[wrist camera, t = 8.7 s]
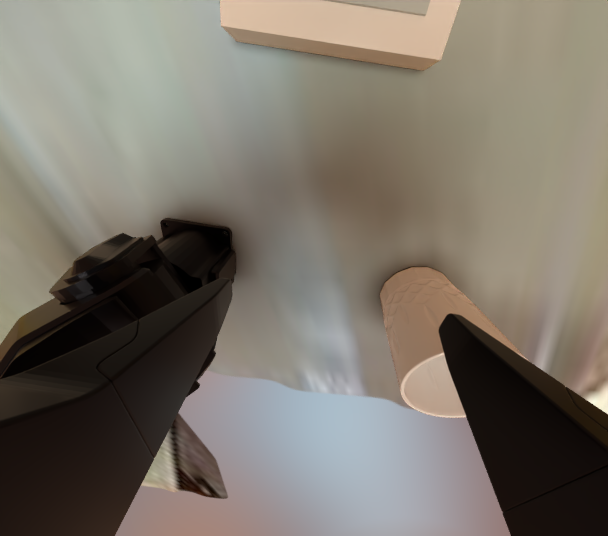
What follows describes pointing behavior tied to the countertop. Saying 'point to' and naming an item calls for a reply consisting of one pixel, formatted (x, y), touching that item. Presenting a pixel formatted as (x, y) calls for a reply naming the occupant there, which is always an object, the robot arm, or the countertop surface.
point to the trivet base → (347, 28)
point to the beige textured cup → (427, 337)
